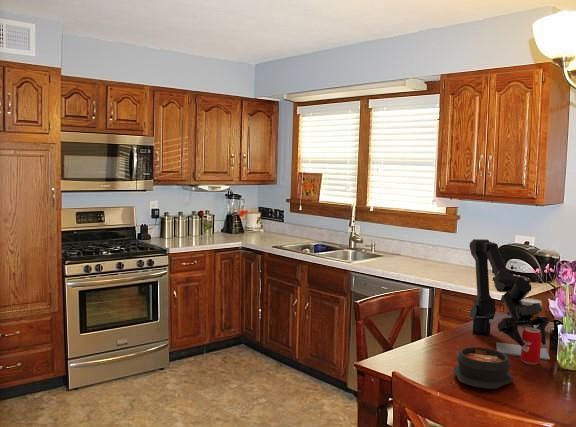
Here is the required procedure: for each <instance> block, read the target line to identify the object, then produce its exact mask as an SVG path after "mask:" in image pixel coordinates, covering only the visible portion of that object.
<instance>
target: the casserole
mask: <svg viewBox="0 0 576 427" xmlns="http://www.w3.org/2000/svg"><path fill="white" fill-rule="evenodd" d="M455 359H456V360H457V363H458V364H456V365H455V366H454V367H453V368H452V371H453V373H454V375H455V376H456V377H457V380H458V381H459V382H460V383H462V384H464V385H468V386H470V387H473V388H474V387H475V388H479V389H488V390H496V389H498V388H501V387H502V386H505V385H507V384H510V383H512V382H513V381H514V377H513V375H512V374H511V372H509V370H510V368H511V367H512V362H510V359H509V355H506V354H504V353H501V352H499V351H497V349H492V348H487V347H480V346H478V347H477V346H471V347H470V346H469V347H464V348H462V349H461V350H459V352H458V354H457V355H456V357H455Z"/></svg>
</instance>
